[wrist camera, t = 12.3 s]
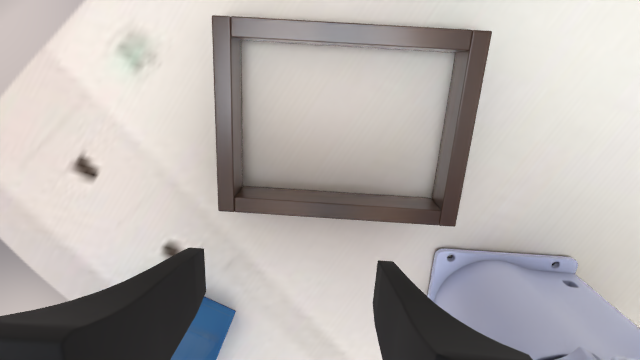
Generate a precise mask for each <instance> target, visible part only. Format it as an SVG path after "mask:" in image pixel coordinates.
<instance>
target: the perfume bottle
mask: <svg viewBox="0 0 640 360" xmlns="http://www.w3.org/2000/svg"><path fill="white" fill-rule="evenodd" d="M235 312H236V311H234V310H232V309H230V308H228V307H226V306H223V305H221V304H219V303H217V302H215V301H212V300H210V299H208V298H206V297H204V298H203V300H202V303H201V305H200V308H199V310H198V312H197V314H196V316H195V318H194V320H193V321H192V323H191V325H190V327H189V328H188V330H187V332H186V334H185V335H184V337H183V339H182V340H181V342H180V344H179V346H178V347H177V349H176V351H175V352H174V354H173V356H172V358H171V359H170V360H216V359H217V356H218V354H219V351H220V349H221V346H222V344H223V341H224V339H225V337H226V334H227V332H228V329H229V327H230V324H231V322H232V319H233V317H234V314H235Z"/></svg>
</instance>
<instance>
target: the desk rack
mask: <svg viewBox="0 0 640 360" xmlns="http://www.w3.org/2000/svg"><path fill="white" fill-rule="evenodd" d="M491 34H492V32H491V31H481V30H473V31H472V30H464V29H446V28H428V27H411V26H393V25H375V24H358V23H340V22H322V21H305V20H287V19H269V18H252V17H234V16H232V17H230V16H215V15H213V16H212V36H213V65H214V95H215V124H216V153H217V183H218V210H219V211H229V212H234V211H235V212H244V213H259V214H275V215H290V216H305V217H320V218H335V219H350V220H366V221H381V222H396V223H411V224H426V225H440V226H455V224H456V219H457V214H458V209H459V203H460V198H461V193H462V187H463V182H464V177H465V172H466V166H467V161H468V156H469V150H470V145H471V140H472V135H473V129H474V124H475V119H476V113H477V108H478V103H479V98H480V92H481V87H482V82H483V76H484V71H485V66H486V61H487V55H488V50H489V45H490V39H491ZM241 40H246V41H263V42H281V43H298V44H315V45H333V46H350V47H367V48H385V49H402V50H419V51H437V52H454V53H455V52H456V54H455V61H454V67H453V73H452V79H451V85H450V91H449V97H448V104H447V110H446V116H445V122H444V128H443V134H442V140H441V146H440V153H439V159H438V165H437V171H436V177H435V183H434V189H433V195H432V199H431V198H419V197H404V196H388V195H373V194H357V193H342V192H326V191H311V190H295V189H280V188H264V187H249V186H243V181H242V93H241Z"/></svg>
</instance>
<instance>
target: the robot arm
mask: <svg viewBox="0 0 640 360" xmlns="http://www.w3.org/2000/svg"><path fill="white" fill-rule="evenodd" d="M449 255H453V257H452V258H449V259H448V258H447V257H448V256H449ZM554 262H556V263H555V264H554V265H552V263H554ZM577 267H578V263H577V261H576V260H574V259H573V258H572V257H563V256H548V255H533V254H518V253H503V252H488V251H473V250H459V249H444V248H443V249H439V250H437V251H436V253H435V256H434V262H433V268H432V273H431V279H430V285H429V290H428V296H426V295H425V294H424V293H423V292H422V291H421V290H420V289H419V288H418V287H417V286H416V285H415V284H414V283H413V282H412V281H411V280H410V279H409V278H408V277H407V276H406V275H405V274H404V273H403V272H402V271H401V270H400V269H399V267H398V266H397V265H396V264H395V263H394V262H392V261H378V264H377V273H376V281H375V289H374V298H373V310H374V321H375V328H376V332H377V337H378V341H379V346H380V350H381V354H382V359H383V360H640V328H638V327H637V326H636V325H635V324H634V323H632V322H631V321H630V320H629V319H628V318H627V317H625V316H624V315H623V314H622V313H621V312H619V311H618V310H617V309H616V308H615V307H613V306H612V305H611V304H610V303H609V302H608V301H606V300H605V299H604V298H603V297H602V296H600V295H599V294H598V293H597V292H596V291H595V290H593V289H592V288H591V287H590V286H589V285H587V284H586V283H585V282H584V281H583V280H581V279H580V278H579V277H578V276H577V275H576V274H575V273H576V270H577ZM205 292H206V282H205V262H204V249H201V248H188V249H185V250H183V251H181V252H179V253H178V254H176V255H174V256H172V257H170V258H169V259H167V260H165V261H163V262H161V263H159V264H158V265H156V266H154V267H152V268H150V269H148V270H146V271H144V272H142V273H140V274H138V275H136V276H134V277H132V278H130V279H128V280H126V281H124V282H122V283H119V284H117V285H114V286H112V287H109V288H107V289H104V290H102V291H99V292H96V293H93V294H90V295H87V296H84V297H81V298H78V299H75V300H72V301H68V302H65V303H61V304H57V305H53V306H49V307H45V308H41V309H36V310H31V311H26V312H21V313H15V314H10V315H5V316H0V360H170V359H171V358H172V356H173V354H174V352H175V351H176V349H177V347H178V346H179V344H180V342H181V340H182V339H183V337H184V335H185V334H186V332H187V330H188V328H189V327H190V325H191V323H192V321H193V320H194V318H195V316H196V314H197V312H198V310H199V308H200V305H201V303H202V300H203V298H204V295H205Z"/></svg>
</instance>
